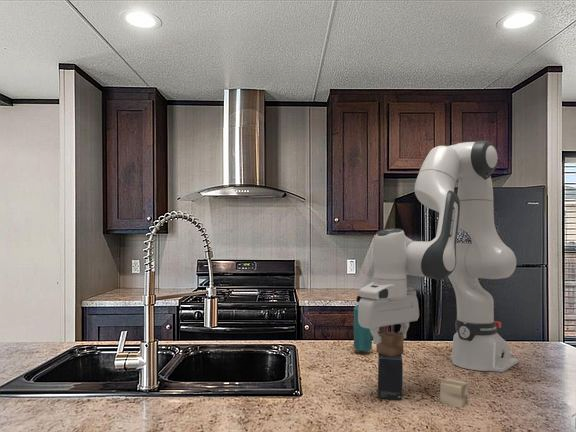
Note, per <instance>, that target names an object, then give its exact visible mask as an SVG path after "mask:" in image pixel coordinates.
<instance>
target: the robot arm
mask: <svg viewBox="0 0 576 432" xmlns="http://www.w3.org/2000/svg"><path fill="white" fill-rule="evenodd" d="M498 153H499V152H498V150H497V147H496V146H495V145H494V144H493V143H492V142H491V141H488V140H477V141H468V142H467V141H466V142H464V141H463V142H458V143H456V144H451V145H438V146H435V147H433V148H432V149H430V151H429V152H428V153H427V156H426V157H425V159H424V160H423V163H422V164H421V167H420V168H419V172H418V175H417V177H416V180H415V182H414V195H415V197H416V198H417V200H418V202H419V203H421V205H423V206H424V207H426V208H427V209H430V210H433V211H435V212H437V213H438V221H437V227H436V228H437V229H436V235H435V237H434V238H433V239H432V240H430V241H425V240H424V241H420V240H419V241H417V240H413V239H411V238H409V237H408V236H406V234H405V232H404V230H403V229H402V228H386V229H381V230H379V231H378V232H377V233H375V237H374V241H373V246H372V247H373V250H372V263H373V267H374V271H373V272H374V273H373V274H372V275H373V277H372V281H371V282H370V283H368V284H367V285H364V286H363V287H361V288H359V289H358V296H360V297H363V298H361V299H360V301H359V302H358V304H357V305H358V323H359V324H360V326H361V327H364V328H368V329H370V332H371V334H372V344H374V345H376V344H381V343H382V337H380V336H379V334H378V333H379V332H380V328H382V327H386V326H387V327H388V326H393V325H400V328H399V331H397V333H398V334H402V335H403V340H405V339H407V332H408V330H409V327H410V323H411V322H417V321H418V319H419V317H420V309H419V308H420V307H419V300H418V297H417V291H416V289H414V288H413V287H410V286H409V287H408V285H407V284H408V281H407V276H413V277H422V278H430V279H434V280H438V281H442V280H445V279H446V278H448V280H449V281H450V283H451V285H452V288H453V290H454V293H455V300H456V319H455V324H454V325H455V331H456V332H455V333H454V335H453V338H452V339H453V340H452V352H451V354H449V359H450V360H451V362H452V363H451V364H453V365H454V366H457V367H459V368H462V369H467V370H472V371H481V372H483V371H484V372H499V373H503V372H506V371H507V370H509V369H510V368H512V367H514V366H515V365H517V364H518V363H519V360H518V359H517V358H515V357H512V356H511V351H510V350H511V348H510V345H509V343H508V342H507V341H506V340H505V339H504V338H502V336H501V335H500V334H499V333H498V329H501V328H502V322H501V321H497V320H494V319H495V318H494V317H495V315H494V313H495V312H494V311H495V310H494V307H495V306H494V304H495V303H494V297H493V296H492V294H491V293H490V292H489V291H487V290H485V289H484V288H483V286H482V285H481V284H480V281H479V279H486V280H487V279H488V280H499V279H507V278H510V277H511V276H512V275H513V273H514V272H515V270H516V268H517V257H516V255H515V253H514V250H512V249H511V248H510V247H509V246H507V245H506V244H505V243H504V242H503V241H502V239H501V237H500V236H499V234H498V231H497V229H496V224H495V214H494V210H495V209H494V189H493V188H494V187H493V181H492V177H491V176H492V174H493V173H494V172H495V170H496V168H497V166H498V162H499V154H498ZM457 180H458V186H457V191H456V192H457V193H456V192H455V187H456V183H457ZM459 228H460V230H462V231H464V232H466V233H467V234H468V236H469V238H470V241H471V243H462V242H461V243H460V242H457V239H458V230H459ZM497 328H498V329H497Z"/></svg>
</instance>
